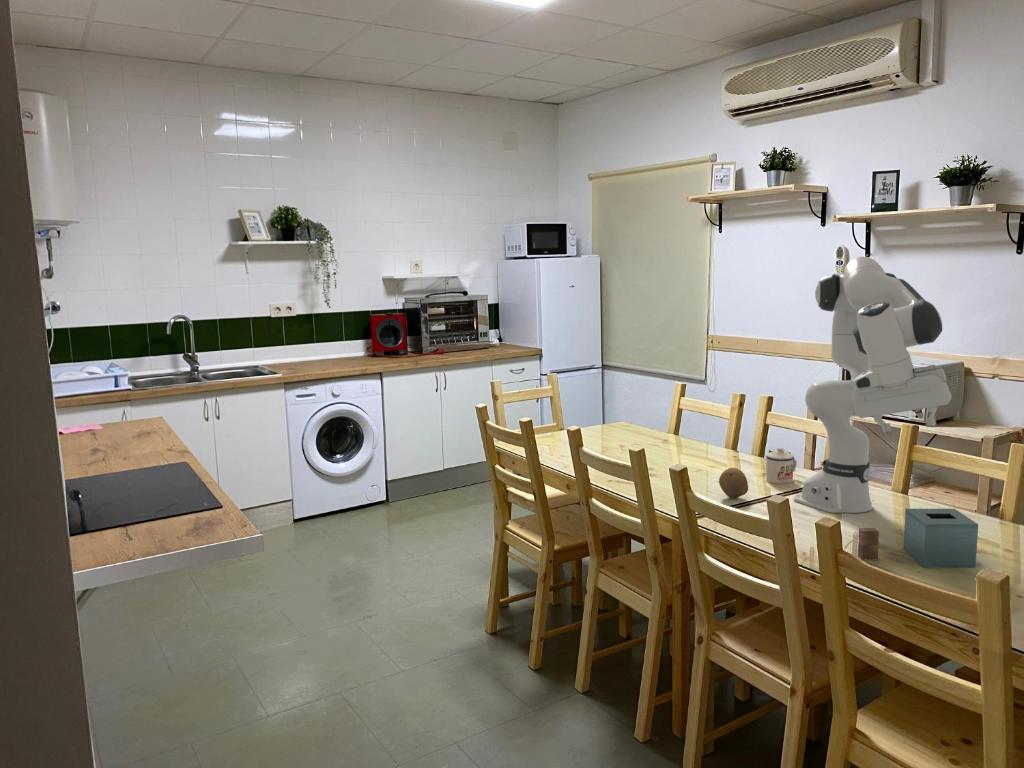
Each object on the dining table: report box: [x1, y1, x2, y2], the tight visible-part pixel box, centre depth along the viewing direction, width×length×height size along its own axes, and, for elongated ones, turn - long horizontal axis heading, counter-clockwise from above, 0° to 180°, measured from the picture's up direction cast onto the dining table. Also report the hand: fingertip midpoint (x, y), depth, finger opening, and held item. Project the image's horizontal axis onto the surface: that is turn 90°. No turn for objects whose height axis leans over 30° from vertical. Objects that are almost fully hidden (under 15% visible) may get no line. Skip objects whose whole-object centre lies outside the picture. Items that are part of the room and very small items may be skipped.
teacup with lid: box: [765, 447, 798, 485], centre depth 262 cm, size 12×9×12 cm
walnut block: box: [857, 527, 880, 561], centre depth 192 cm, size 4×2×8 cm, turn 84°
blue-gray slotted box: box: [903, 508, 979, 569], centre depth 190 cm, size 12×12×11 cm
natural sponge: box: [718, 467, 749, 500], centre depth 245 cm, size 9×9×10 cm
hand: (909, 428), depth 176 cm, fingers open, 8 cm apart
